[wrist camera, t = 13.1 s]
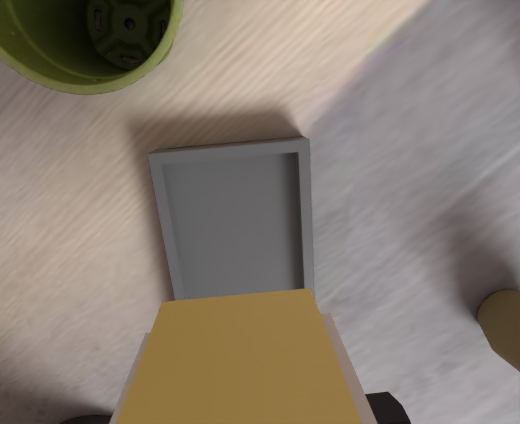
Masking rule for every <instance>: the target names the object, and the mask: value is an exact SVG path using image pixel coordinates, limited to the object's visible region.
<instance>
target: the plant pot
mask: <svg viewBox="0 0 520 424" xmlns="http://www.w3.org/2000/svg"><path fill="white" fill-rule="evenodd" d="M183 5H184V0H0V59H1V60H2V61H3V62H4V63H6V64H7V65H8V66H10V67H11V68H12V69H14V70H15V71H17V72H18V73H19V74H21V75H23V76H24V77H26V78H28V79H29V80H31V81H33V82H35V83H37V84H40V85H42V86H44V87H47V88H50V89H53V90H57V91H60V92H64V93H70V94H79V95H93V94H103V93H108V92H112V91H116V90H119V89H122V88H124V87H126V86H129V85H131V84H133V83H134V82H136V81H138V80H139V79H141V78H142V77H144V76H145V75H146V74H147V73H148V72H150V71H151V70H152V69H153V68H154V67H155V66H157V65H158V64H159V63H161V62H162V61H163V60H164V59H165V57H166V56H167V55H168V53H169V51H170V49H171V47H172V44H173V41H174V37H175V35H176V32H177V30H178V27H179V23H180V20H181V16H182V11H183ZM95 10H98V11H101V17H100V25H101V29H102V30H101V31H100V30H96V27H95ZM127 19H131V20H132V21H133V22H134V27H133V28H132V29H128V28H127V27H126V26H125V21H126V20H127ZM164 19H165V21H164ZM161 21H164V26H165V34H164V36H163V38H162V40H161V39H160V35H161ZM109 53H110V54H109ZM107 54H108V55H107ZM122 55H124V56H128V57H133V58H138V59H139V63H128V62H125V61H122V60H121V56H122Z"/></svg>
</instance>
